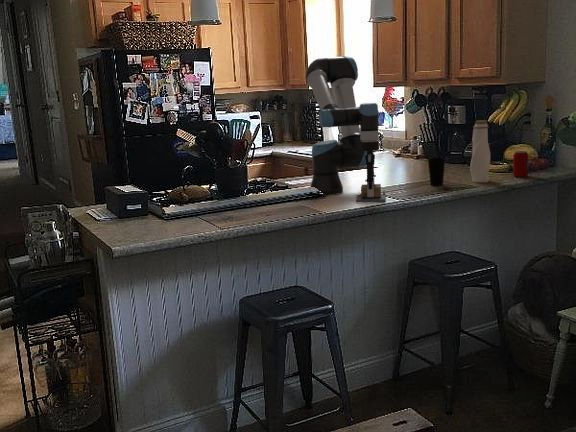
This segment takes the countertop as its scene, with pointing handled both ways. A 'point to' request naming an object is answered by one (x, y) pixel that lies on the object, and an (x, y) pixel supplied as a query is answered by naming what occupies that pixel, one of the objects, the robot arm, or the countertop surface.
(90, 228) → the countertop surface
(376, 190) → the collar
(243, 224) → the countertop surface
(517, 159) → the beverage can
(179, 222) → the countertop surface
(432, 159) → the cup
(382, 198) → the post base
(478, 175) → the water bottle
